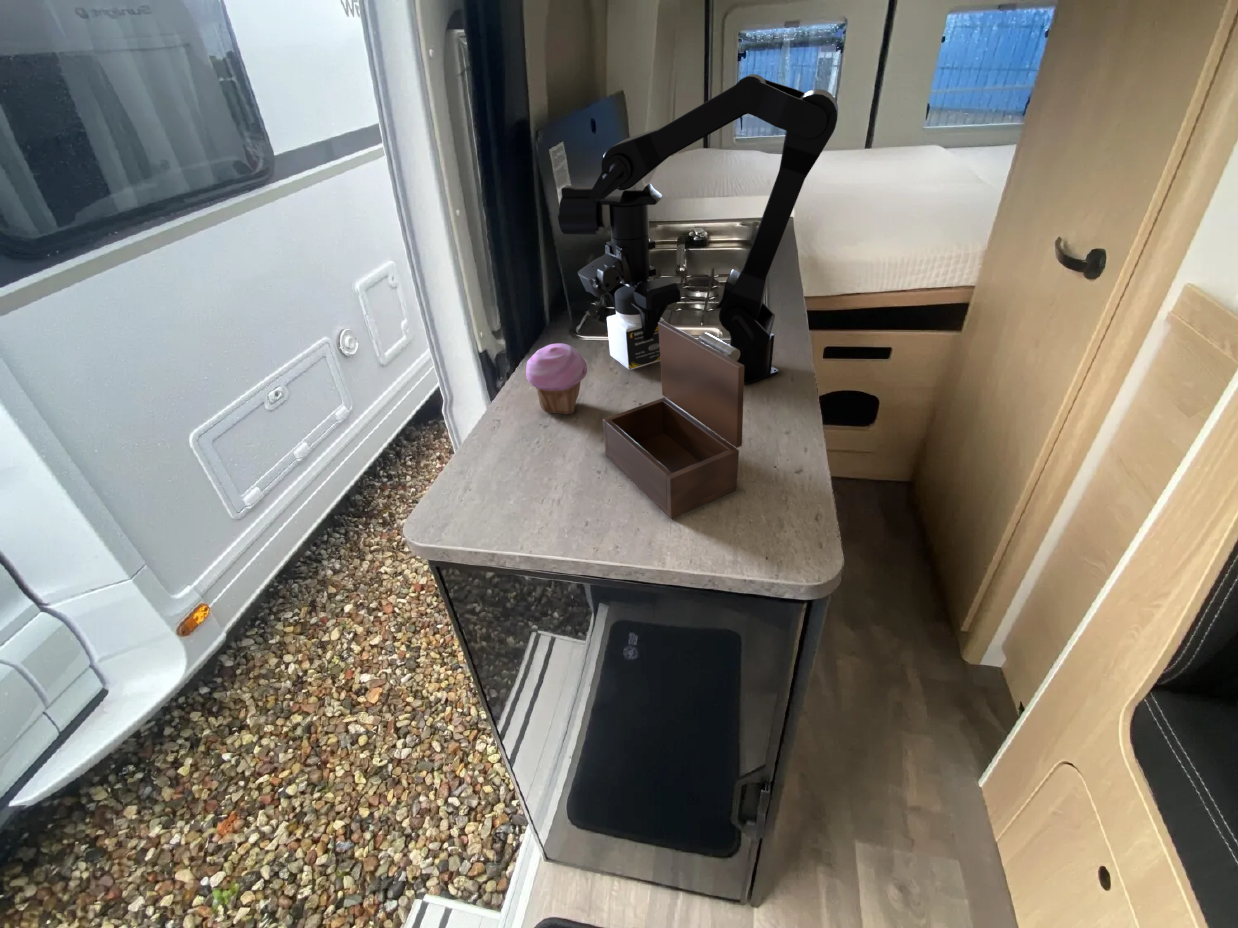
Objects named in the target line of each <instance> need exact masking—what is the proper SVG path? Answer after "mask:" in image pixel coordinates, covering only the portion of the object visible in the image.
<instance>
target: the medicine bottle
mask: <svg viewBox="0 0 1238 928" xmlns="http://www.w3.org/2000/svg"><path fill="white" fill-rule="evenodd" d="M634 290H635V289H634V288H632V287H628V286H624V287H621V288H619V289H618V290H617V291H616V292H615V306H616V312H615V314H612V315H608V316H606V323H607V324H606V326H607V335H608V347H609V355H610V356H611V358H613V359H614V360H616V361H617V362H618V363H620V364H621V365H622V366H623V367H624V368H626V369H627V370H628V371H632V370H636V369H638V368H642V367H645V366H648V365H652V364H655V363H658V362H660V346H659V329H658V325H657V327H656V330H655V332H654V334H653V336H652V338H651V339H650V340H647V341H646V340H644V336H643V331H642V324H641V318H640V312H639V310H638V309H636V308H635V307H634V306H633V305H632V304H631V303H635V302H636V301H635V299H634ZM661 321H665V319H664V318H663V317H661V319H660V321H659V322H661Z"/></svg>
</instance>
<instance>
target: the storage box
mask: <svg viewBox="0 0 1238 928" xmlns="http://www.w3.org/2000/svg"><path fill="white" fill-rule="evenodd" d="M602 429H603V441H604V451H605V457H606V458H607V459H608V460H609V461H610V462H612V464H614V466H616V467H617V469H619V471H621V472H622V473H623V474H624V475H625V476H626V477H627V478H628V479H629V480H630V481H631V482H632V483H633V484H634V485H635V486H637V488H638V489H640V490H641V492H642V493H644V494H645V495H646V496H647V498H649V499H650V500H651V501H652V502H653V503H654V504H655V505H656V506H657V507H658V508H659V509H660V510H662V512H663V513H665V515H666V516H667V517H668V518H670V519H674V518H677V517H679V516H681V515H683V514H685V513H687V512H690V511H692V510H695V509H697V508H699V507H701V506H703V505H705V504H708V503H710V502H712V501H714V500H717V499H719V498H722V497H724V496H726V495H728V494H730V493H732V492H736V491H737V489H738V473H739V457H740V450H739V449H738V448H736V447H735V446H733V445H732V444H730V443H729V442H728V441H726V440H725V439H723V438H722V437H721V436H719V435H718V434H716V433H715V432H714V431H712V430H711V429H709V428H708V427H707V426H705V425H704V424H702V423H701V422H700V421H698V420H697V419H695V418H694V417H693V416H691V415H690V414H688V413H687V412H686V411H684V410H683V409H681V408H680V407H679V406H677V405H676V404H674V403H673V402H672V401H670V400H669V399H667V398H666V397H665V396H663V397H662V398H659V399H656V400H653V401H650V402H647V403H644V404H642V405H639V406H635V407H633V408H629V409H627V410H624V411H622V412H619V413H616V414H614V415H613V414H612V415H610V416H608V417H605V418H602Z"/></svg>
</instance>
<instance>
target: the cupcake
mask: <svg viewBox="0 0 1238 928" xmlns="http://www.w3.org/2000/svg"><path fill="white" fill-rule="evenodd" d="M525 366H526V367H525V376H526V379H527V381H528V382H529V384H531V386H532V387H534V388H535V389H536V392H537V397H538V401H539V402H538V403H539V405H540V408H541V410H543V412H545V413H549V414H563V415H572V414H573V413H574V412H575V407H576V403H577V400H578V397H579V394H580V389H581V381H582V380H584V378H586V376H587V374H588V366H587V362H586V360H585V359H584V357H583V355H582V354H581V353H580V352H579V351H578V350H577V349H576V348H575V347H573V346H572V345H569V344H567V343H560V342H559V343H551V344H548V345H545V346H544V347H542V348H539V349H538V350H536V351H535V352H534V354H532V355H531V357H530V358H529V359H528V360H527V362H526V365H525Z"/></svg>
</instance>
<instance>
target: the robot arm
mask: <svg viewBox="0 0 1238 928" xmlns="http://www.w3.org/2000/svg"><path fill="white" fill-rule="evenodd" d="M746 115H749V116H753V117H756V118H757V119H760V120H761V121H764V122H765V123H767V124H770V125H772V126H773V127H776V128H778V129H780V130H783V131H785V135H784V140H783V145H782V151H781V158H780V163H779V169H778V172H777V176H776V178H775V181H774V183H773V186H772V189H771V192H770V195H769V197H768V200H767V203H766V206H765V208H764V210H763V213H762V216H761V219H760V222H759V224H758V227H757V230H756V233H755V235H754V238H753V241H752V244H751V247H750V249H749V251H748V255H747V257H746V259H745V263H744V265H743V266H742V268H741V270H740V271H739V272H738V271H737V270H734V269H730V272H729V274H728V276H727V278H726V280H725V282H724V287H723V291H722V294H721V296H720V298H719V300H718V302H717V305H716V309H720V310H719V313H718V321H719V322H720V324H721V326H722V327H723V328H724V330H726V331H727V332H728V333H729V336H730V339H729V342H730V343H729V345H731V346H733V347H734V348H736V349H738V350H739V351H740V357H739V359H738V360H737V362H739V363H740V364H742V365H744V384H746V385H750V384H753V383H756V382H758V381H761V380H764V379H766V378H770V377H772V376H775V375H778V374H779V369H778V368H775V367H774V366H773V355H774V344H775V333H773V332H772V331H773V326H774V322H775V318H776V314H775V312H773V311H772V310H771V309H770V307H768V305H767V304H766V303H764V297H765V292H766V289H767V288H766V287H767V281H768V276H769V275H768V274H769V271H770V268H771V266H772V265H773V262H774V259H775V256H776V254H777V251H778V249H779V247H780V246H779V245H780V244H781V241H782V239H783V236H784V233H785V231H786V228H787V226H788V224H789V221H790V218H791V215H792V213H793V211H794V208H795V205H796V203H797V201H798V198H799V195H800V193H801V191H802V188H803V185H804V183H805V180H806V178H807V177H808V175H809V173H810V172H811V170H812V169H813V168H814V165H815V164H816V162H817V160H818V159H819V158H820V156H821V154H822V152H823V150H824V149H825V147H826V146H827V144H828V142H829V141H830V139H831V137H832V135H833V134H834V131H835V130H836V127H837V122H838V117H839V105H838V103H837V100H836V98H835V97H834V95H833V94H832V93H831V92H829V91H827V90H826V89H821V88H816V89H812V90H808V91H807V92H805V91H801V90H800V89H796V88H795V87H794V88H793V87H790V86H787V85H784V84H781V83H778V82H774V81H771V80H768V79H766V78H764V77H763V76H761V75H759V74H756V73H750V74H748V75H745V76H744V77H742V78H741V79H740V80H738V81H737V82H736V84H734V85H733V86H731V87H729V88H728V89H726V90H724V91H722V92H720V93H719V94H717V95H715V96H714V97H711V98H710V99H709V100H707V101H705V102H703V103H702V104H700V105H698V106H697V107H695V108H693V109H691V110H689V111H688V112H686V113H684V114H683V115H681V116H679V117H678V118H676V119H674V120H672V121H671V122H669V123H667V124H665V125H664V126H661V127H657V128H655V129H652V130H649V131H645V132H642V133H639V134H636V135H634V136H631V137H628V138H625V139H623V140H621V141H619V142H618V143H616V144H614V145H612V146H610V147H609V148H608V149H606V150H605V152H604V154H603V155H602V159H601V160H602V161H601V173H600V174H599V176H598V178H597V180H596V181H595V183H594V184H593V186H577V185H574V184H572V185H571V184H570V185H565V186H563V187H562V188H561V189H560V191H561V198H560V201H559V207H558V214H557V222H558V227H559V229H560V231H561V233H562V234H563V235H575V236H576V235H579V236H581V235H584V236H585V235H586V236H587V235H588V236H600V235H602V234H603V232H604V229H607V228H608V227H609V225H610V237H611V240H609V241H606V242H605V243H606V244H605V246H604V251H605V253H604V254H603V255H602V256H599V257H597V258H595V259H594V260H592V261H590V263H588V264H586V265H585V266H584V267H582V268H580V269H579V270H578V271H577V275H578V277H579V279H580V282H581V283H582V286H583V288H584V290H585V292H587V293H590V294H592V295H593V297H595V298H599V297H602V296H605V294H607V295H608V297H609V299H610V301H611V304H612V306H613V309H614V312H615V313H616V306H615V292H616V291H617V290H618V289H619V288H621V287H624V286H628V287H632V288H634V289H635V290H634V299H635V301H636V302H635V303H631V304H632V305H633V306H634V307H635V308H636V309H638V310H639V312H640V318H641V324H642V331H643V336H644V340H646V341H647V340H650V339H651V338H652V336H653V334H654V332H655V330H656V327H657V325H658V322H659V321H660V319H661V318H663V315H664V313H665V311H666V310H667V308H668V306H670V305H673V304H676V303H680V302H681V300H682V287H681V286H680V285H679V284H678V283H677V282H675V281H673V280H670V279H668V278H666V277H659V278H655V279H651V280H649V279H650V277H654V276H657V268H656V267H654V266H651V250H653V249H656V241H655V240H653V239H650V222H649V221H650V217H649V206H655V205H657V204H658V203H659V202H660V201H661V200H662V199H663V195H662V193H660V192H659V191H658V190H657V189H655V188H654V187H653V185H652V184H651V183H648V184H647V185H645V186H644V188H643V189H631V188H632V187H634V186H635V185H637V184H638V183H639V182H640V181H641V180H643V179H644V178H645V177H646V176H648V175H649V174H650V173H651V172H652V171H654V170H655V169H656V168H658V167H659V166H660V165H661V164H662V163H664V162H665V161H667V159H668V158H669V157H671V156H673V155H675V154H676V153H678V152H680V151H682V150H684V149H686V148H687V147H689V146H691V145H692V144H695V143H697V142H698V141H699V140H702V139H703V138H706V137H707V136H709V135H711V134H713V133H714V132H717V131H718V130H720V129H722V128H724V127H725V126H727V125H730V124H731V123H733V122H735V121H736V120H738V119H740V118H741V117H743V116H746ZM616 190H618V191H622V193H621V195H615V196H614V195H612V196H611V194H612V193H613V192H615V191H616Z"/></svg>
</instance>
